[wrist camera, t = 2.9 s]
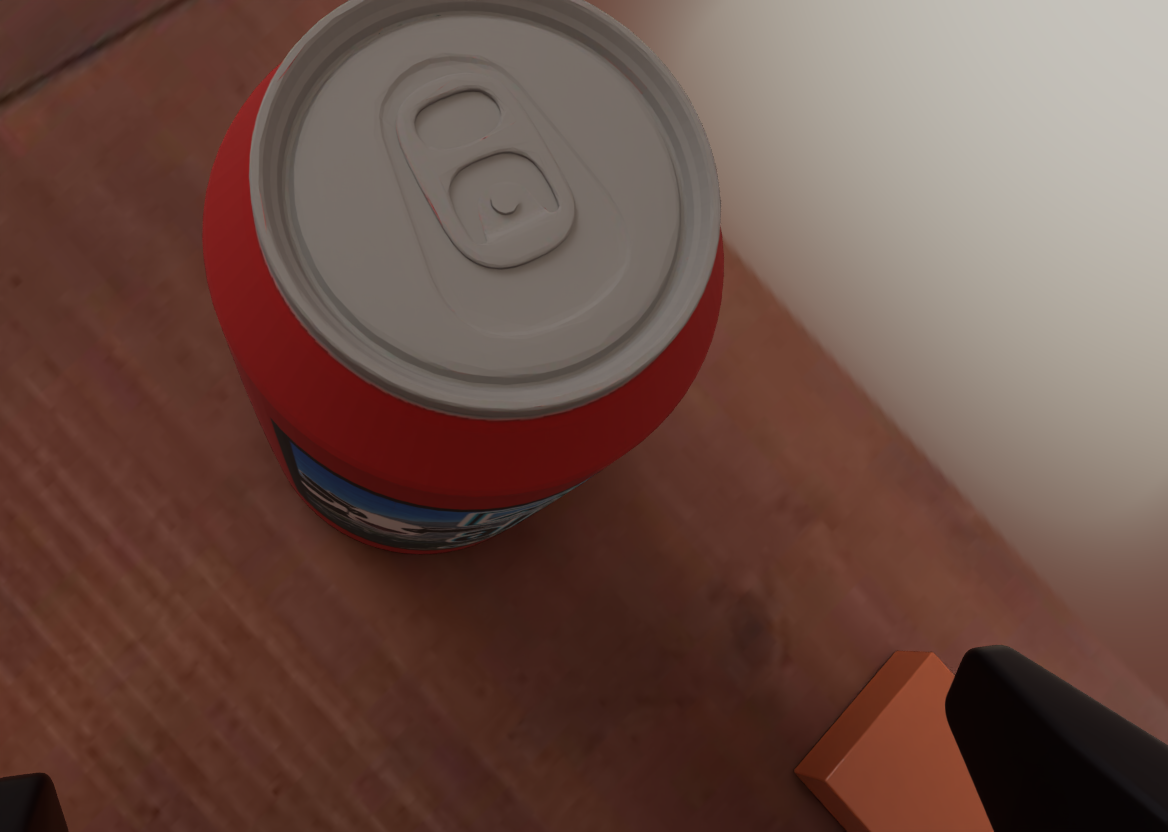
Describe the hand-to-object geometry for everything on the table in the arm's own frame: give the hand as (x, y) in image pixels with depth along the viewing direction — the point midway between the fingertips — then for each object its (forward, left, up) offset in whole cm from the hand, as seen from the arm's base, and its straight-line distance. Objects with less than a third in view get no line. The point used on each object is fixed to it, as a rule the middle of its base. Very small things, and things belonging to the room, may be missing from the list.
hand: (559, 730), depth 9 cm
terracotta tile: (-9, -6, -12) cm, 17 cm away
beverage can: (+5, -4, -12) cm, 14 cm away
